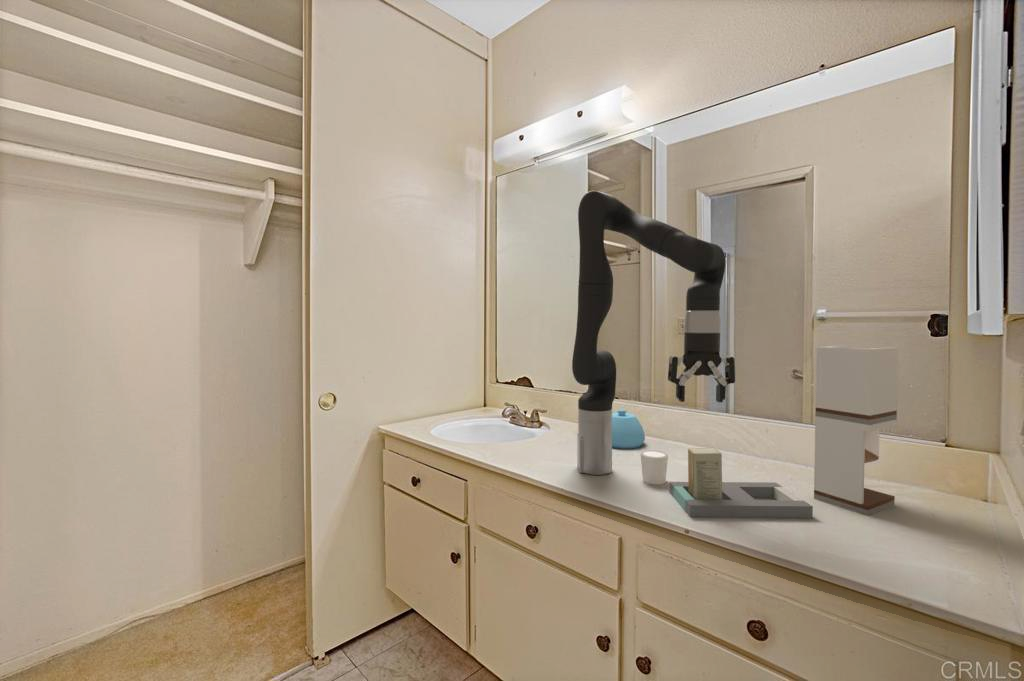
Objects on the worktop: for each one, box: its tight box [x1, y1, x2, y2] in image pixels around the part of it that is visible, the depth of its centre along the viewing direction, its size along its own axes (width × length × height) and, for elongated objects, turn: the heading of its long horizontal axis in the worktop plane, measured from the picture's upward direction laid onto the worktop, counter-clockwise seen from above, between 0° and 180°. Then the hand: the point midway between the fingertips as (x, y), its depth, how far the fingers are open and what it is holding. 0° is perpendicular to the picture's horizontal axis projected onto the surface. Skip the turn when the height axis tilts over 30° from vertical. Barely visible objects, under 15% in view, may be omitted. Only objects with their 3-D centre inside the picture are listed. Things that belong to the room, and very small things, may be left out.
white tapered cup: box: [640, 450, 669, 485], centre depth 116 cm, size 7×7×7 cm
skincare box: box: [687, 447, 723, 500], centre depth 101 cm, size 6×4×12 cm
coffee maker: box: [813, 345, 899, 517], centre depth 101 cm, size 11×11×35 cm
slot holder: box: [668, 481, 814, 519], centre depth 101 cm, size 25×14×2 cm, turn 88°
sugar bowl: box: [612, 408, 646, 450], centre depth 152 cm, size 15×15×12 cm
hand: (700, 401), depth 103 cm, fingers open, 8 cm apart
